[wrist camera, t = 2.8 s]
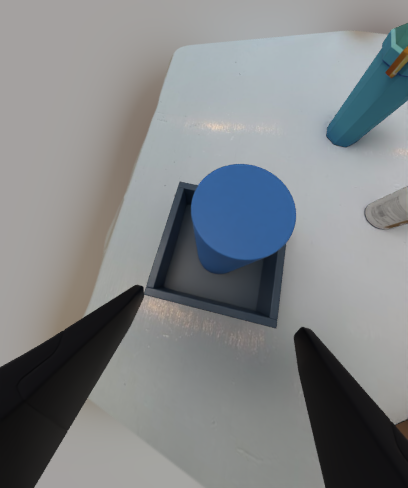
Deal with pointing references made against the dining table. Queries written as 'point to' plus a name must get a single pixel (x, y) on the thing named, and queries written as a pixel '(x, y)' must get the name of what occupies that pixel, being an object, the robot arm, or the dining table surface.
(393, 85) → the cup
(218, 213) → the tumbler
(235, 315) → the tray
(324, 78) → the dining table surface
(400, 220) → the pill bottle
